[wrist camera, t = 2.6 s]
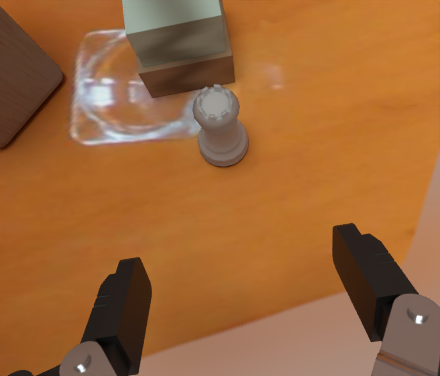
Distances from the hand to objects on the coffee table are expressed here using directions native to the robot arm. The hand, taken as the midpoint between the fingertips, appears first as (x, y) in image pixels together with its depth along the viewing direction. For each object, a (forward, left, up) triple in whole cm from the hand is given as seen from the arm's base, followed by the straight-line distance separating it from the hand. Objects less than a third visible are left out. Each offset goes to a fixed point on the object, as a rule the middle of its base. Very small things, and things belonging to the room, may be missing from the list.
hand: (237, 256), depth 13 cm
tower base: (-2, +20, -14) cm, 25 cm away
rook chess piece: (0, +10, -14) cm, 17 cm away
